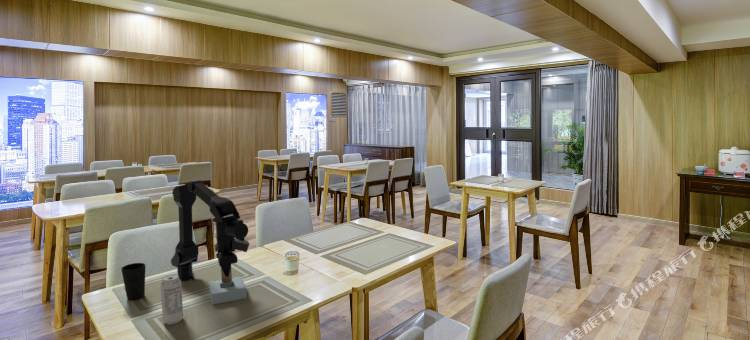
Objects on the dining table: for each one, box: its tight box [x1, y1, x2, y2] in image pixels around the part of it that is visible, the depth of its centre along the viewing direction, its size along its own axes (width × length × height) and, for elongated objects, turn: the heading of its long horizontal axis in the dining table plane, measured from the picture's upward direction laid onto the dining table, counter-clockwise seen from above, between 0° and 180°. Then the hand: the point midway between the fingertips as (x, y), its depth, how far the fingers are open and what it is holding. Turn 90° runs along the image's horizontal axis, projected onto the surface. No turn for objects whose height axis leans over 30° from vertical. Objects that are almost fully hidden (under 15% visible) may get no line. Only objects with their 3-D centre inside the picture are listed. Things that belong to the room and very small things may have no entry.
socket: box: [208, 276, 248, 306], centre depth 152 cm, size 12×12×4 cm
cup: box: [120, 262, 146, 302], centre depth 149 cm, size 8×8×12 cm
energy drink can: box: [159, 274, 184, 326], centre depth 132 cm, size 6×6×15 cm
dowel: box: [220, 267, 233, 283], centre depth 151 cm, size 4×4×8 cm
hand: (226, 274), depth 151 cm, fingers closed on dowel, 4 cm apart
